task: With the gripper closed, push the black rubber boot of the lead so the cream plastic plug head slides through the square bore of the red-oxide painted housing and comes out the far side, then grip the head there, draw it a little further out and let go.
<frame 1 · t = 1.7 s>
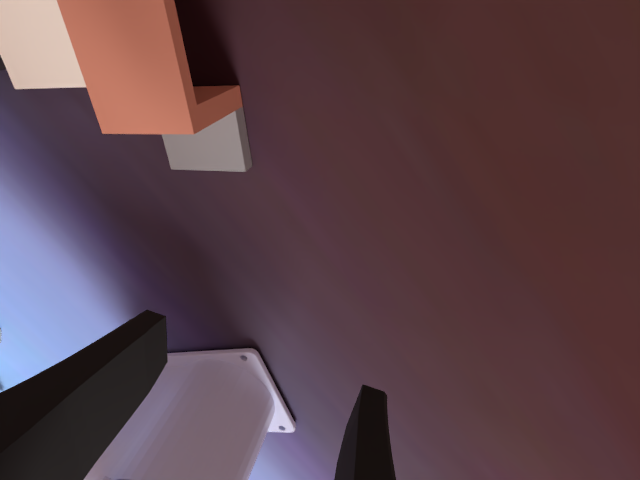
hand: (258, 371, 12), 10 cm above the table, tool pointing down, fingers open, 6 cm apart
housing: (185, 21, 17), on the table
plug: (87, 28, 18), on the table
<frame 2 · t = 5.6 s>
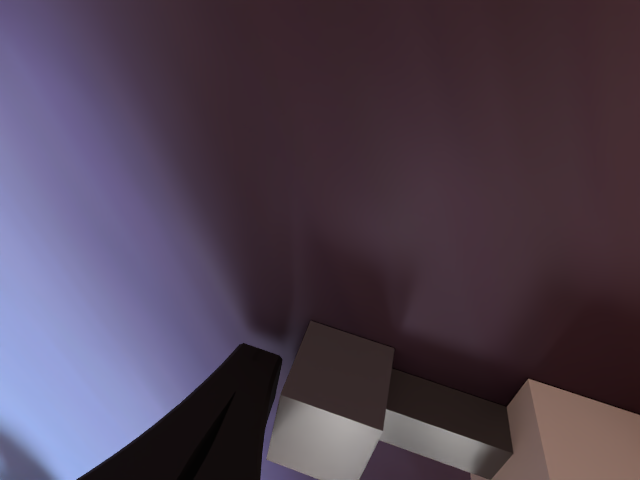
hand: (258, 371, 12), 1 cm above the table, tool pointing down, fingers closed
plug: (565, 444, 12), on the table, touching gripper
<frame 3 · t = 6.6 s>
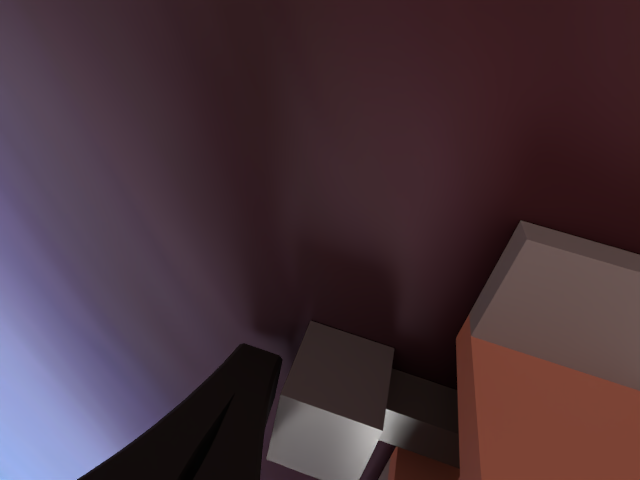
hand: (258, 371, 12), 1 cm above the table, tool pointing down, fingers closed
housing: (490, 419, 12), on the table
plug: (565, 444, 12), on the table, touching gripper
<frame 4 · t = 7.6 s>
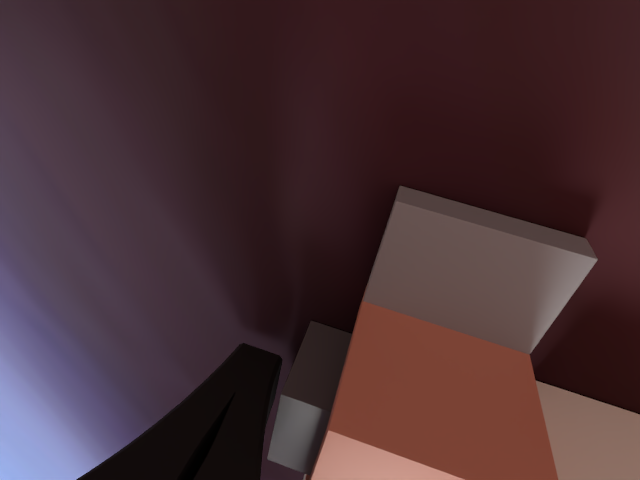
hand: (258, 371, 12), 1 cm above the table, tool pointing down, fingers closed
housing: (403, 389, 12), on the table
plug: (566, 444, 12), on the table, touching gripper
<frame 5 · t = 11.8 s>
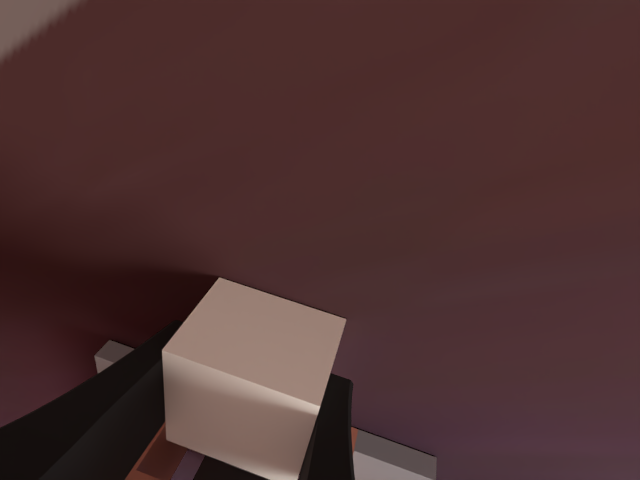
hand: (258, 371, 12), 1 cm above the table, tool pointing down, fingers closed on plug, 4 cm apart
housing: (259, 426, 16), on the table
plug: (273, 343, 13), on the table, touching gripper
when the fingers open (1 cm above the table, at t = 13.0 s): plug stays where it is, on the table.
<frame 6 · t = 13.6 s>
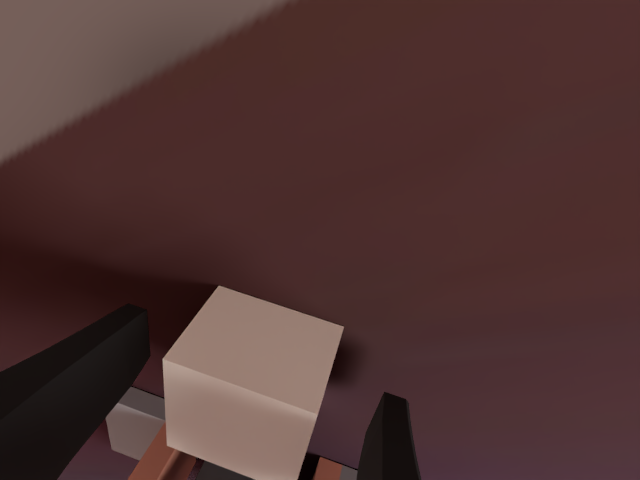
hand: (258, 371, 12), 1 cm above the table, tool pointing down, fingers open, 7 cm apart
housing: (252, 459, 17), on the table
plug: (272, 349, 13), on the table
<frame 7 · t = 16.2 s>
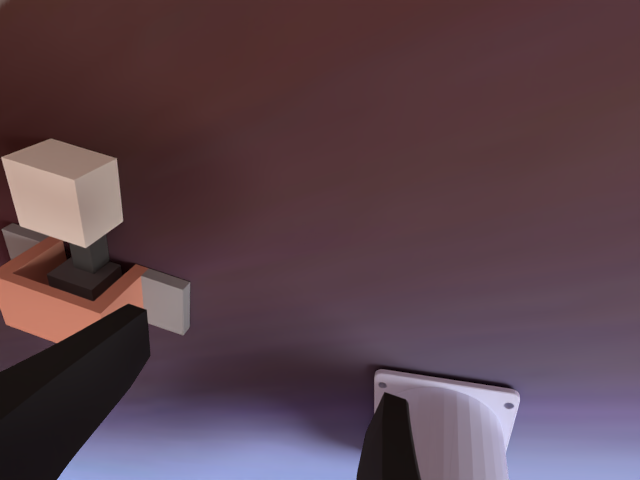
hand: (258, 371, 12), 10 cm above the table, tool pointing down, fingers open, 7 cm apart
housing: (102, 275, 27), on the table
plug: (88, 181, 23), on the table
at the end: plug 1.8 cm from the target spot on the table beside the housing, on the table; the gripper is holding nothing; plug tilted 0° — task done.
